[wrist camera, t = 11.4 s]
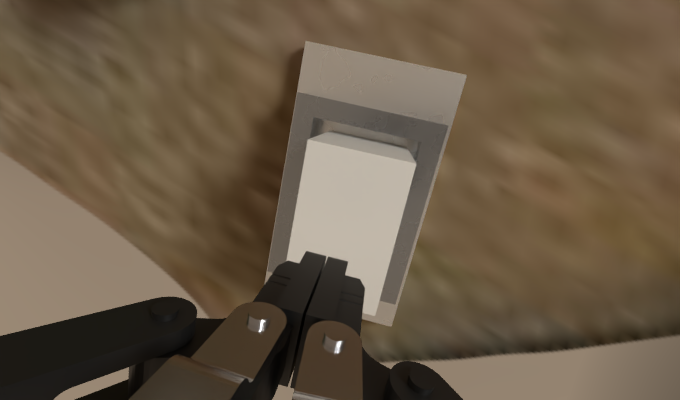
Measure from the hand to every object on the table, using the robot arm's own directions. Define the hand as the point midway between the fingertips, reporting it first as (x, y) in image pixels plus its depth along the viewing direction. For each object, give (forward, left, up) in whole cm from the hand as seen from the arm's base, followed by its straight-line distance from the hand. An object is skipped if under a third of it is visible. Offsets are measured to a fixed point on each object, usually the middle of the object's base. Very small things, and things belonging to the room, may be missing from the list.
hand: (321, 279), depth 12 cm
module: (0, 0, -12) cm, 12 cm away
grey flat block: (0, 0, -13) cm, 13 cm away
